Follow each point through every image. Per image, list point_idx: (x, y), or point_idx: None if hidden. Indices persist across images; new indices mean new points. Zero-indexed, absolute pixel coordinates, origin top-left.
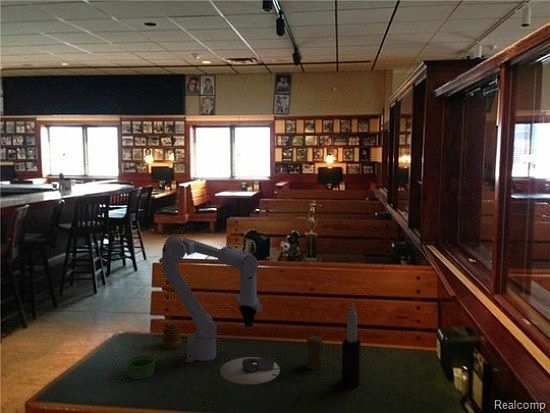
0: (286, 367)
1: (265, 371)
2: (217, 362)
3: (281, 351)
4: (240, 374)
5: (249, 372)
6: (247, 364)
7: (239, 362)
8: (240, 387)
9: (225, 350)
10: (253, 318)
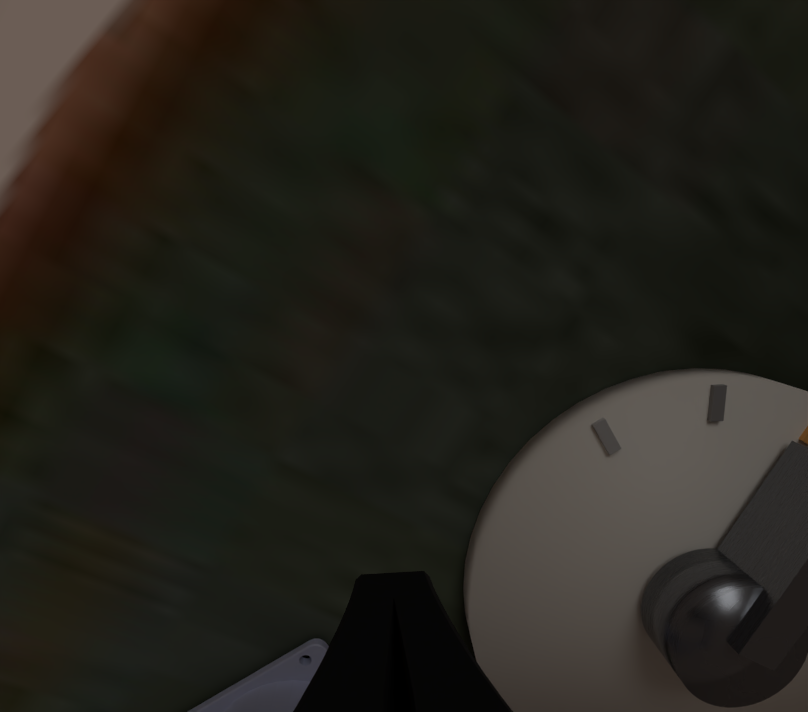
0: (759, 291)
1: None
2: None
3: (478, 130)
4: None
5: None
6: (774, 688)
7: (540, 608)
8: None
9: (191, 547)
10: (489, 689)
